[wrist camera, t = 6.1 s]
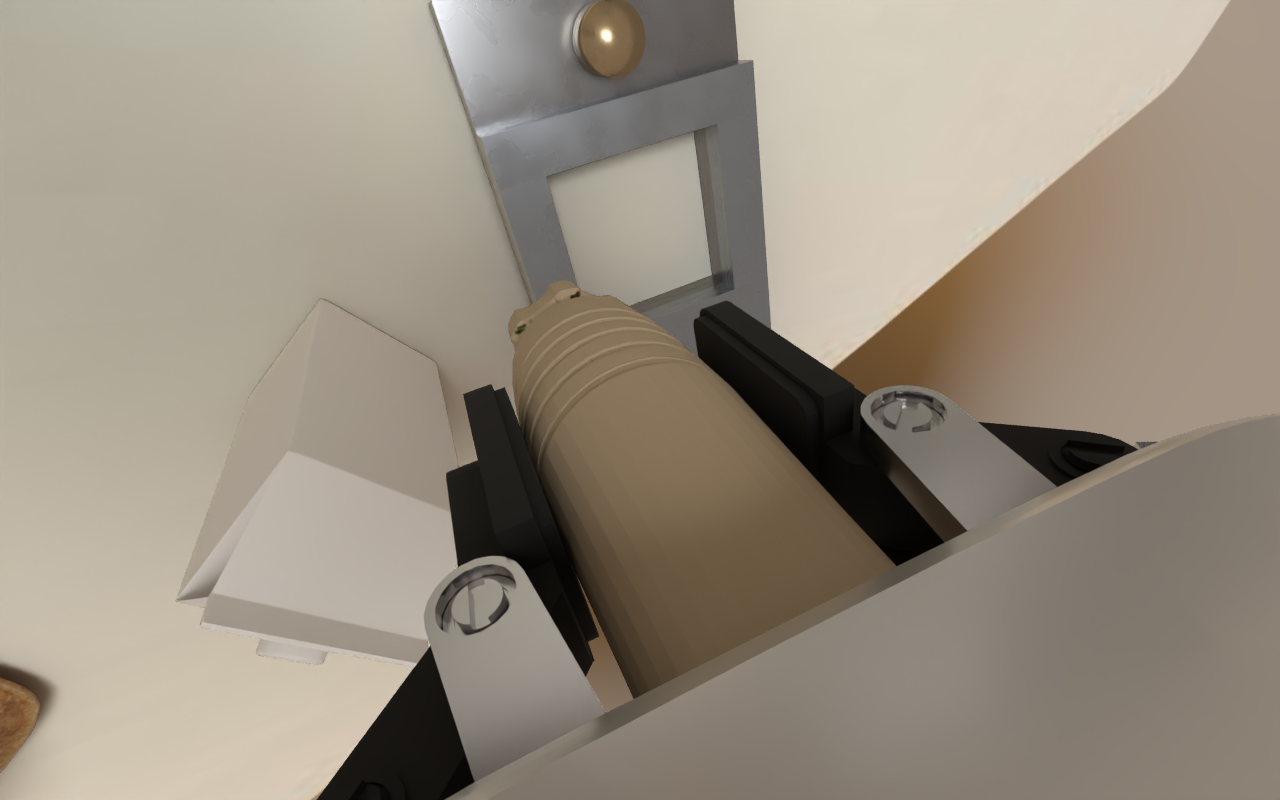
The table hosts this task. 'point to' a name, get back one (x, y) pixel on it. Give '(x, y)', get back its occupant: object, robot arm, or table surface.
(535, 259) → the upper end link
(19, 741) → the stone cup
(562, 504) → the handle
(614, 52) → the lower end link
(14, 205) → the table surface
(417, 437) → the milk carton
